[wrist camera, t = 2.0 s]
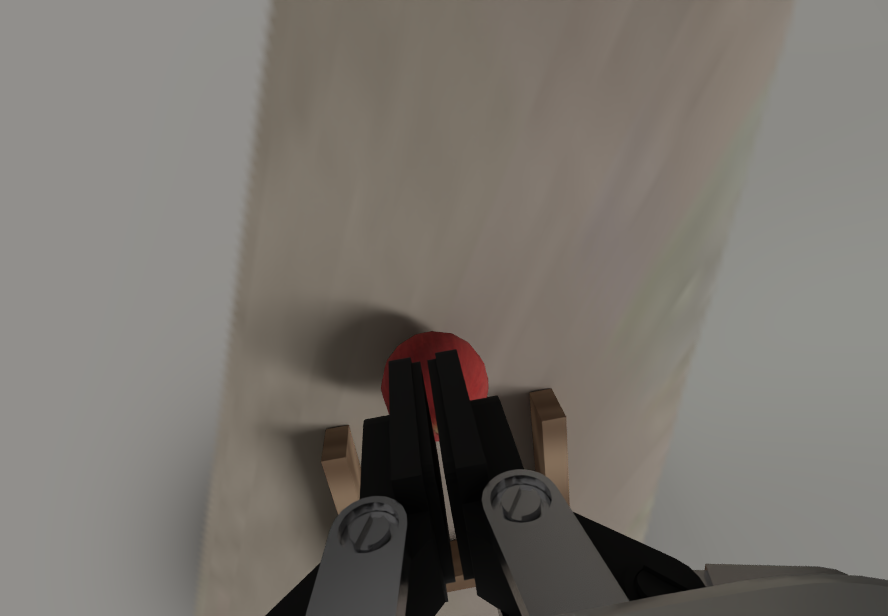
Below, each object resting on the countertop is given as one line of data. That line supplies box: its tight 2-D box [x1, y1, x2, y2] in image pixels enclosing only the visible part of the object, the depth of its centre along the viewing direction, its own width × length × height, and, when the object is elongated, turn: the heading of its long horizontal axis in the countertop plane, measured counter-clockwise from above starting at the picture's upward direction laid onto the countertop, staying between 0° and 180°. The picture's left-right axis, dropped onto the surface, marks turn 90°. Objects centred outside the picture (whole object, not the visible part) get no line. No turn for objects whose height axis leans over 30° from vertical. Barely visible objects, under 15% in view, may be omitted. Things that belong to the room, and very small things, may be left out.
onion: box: [381, 331, 488, 441], centre depth 28 cm, size 6×6×8 cm
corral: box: [321, 388, 570, 592], centre depth 35 cm, size 14×15×3 cm
